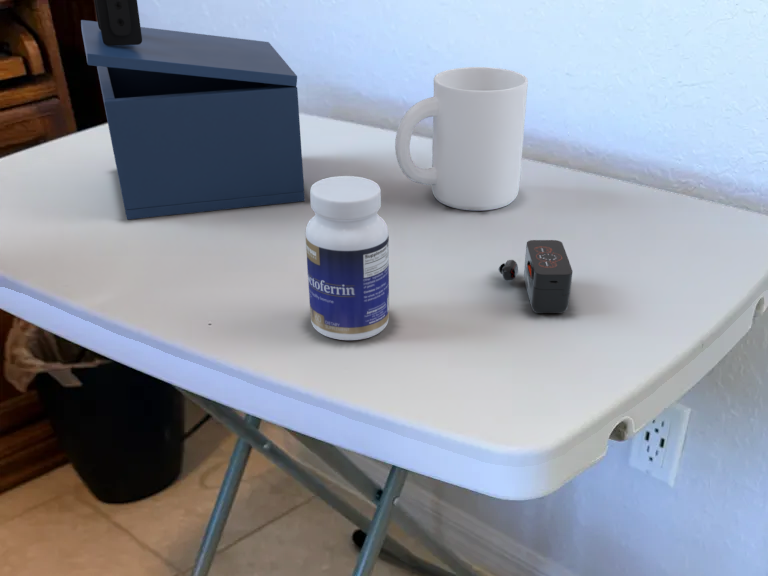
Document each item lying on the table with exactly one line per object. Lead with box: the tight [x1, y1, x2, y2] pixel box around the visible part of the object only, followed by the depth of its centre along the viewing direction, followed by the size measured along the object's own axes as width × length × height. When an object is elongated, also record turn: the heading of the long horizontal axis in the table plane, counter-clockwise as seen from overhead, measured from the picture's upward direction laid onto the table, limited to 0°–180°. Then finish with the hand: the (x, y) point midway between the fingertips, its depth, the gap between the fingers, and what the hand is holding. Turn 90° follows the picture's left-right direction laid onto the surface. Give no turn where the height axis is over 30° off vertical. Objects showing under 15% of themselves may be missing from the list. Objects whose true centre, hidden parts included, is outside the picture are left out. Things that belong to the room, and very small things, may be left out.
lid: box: [80, 19, 298, 87], centre depth 81 cm, size 17×13×5 cm
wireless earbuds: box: [498, 239, 573, 314], centre depth 71 cm, size 5×7×3 cm, turn 1°
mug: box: [394, 66, 529, 212], centre depth 84 cm, size 12×8×10 cm
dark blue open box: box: [96, 66, 306, 221], centre depth 87 cm, size 16×13×10 cm
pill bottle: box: [305, 175, 390, 341], centre depth 64 cm, size 6×6×10 cm
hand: (119, 34), depth 80 cm, fingers closed on lid, 5 cm apart
